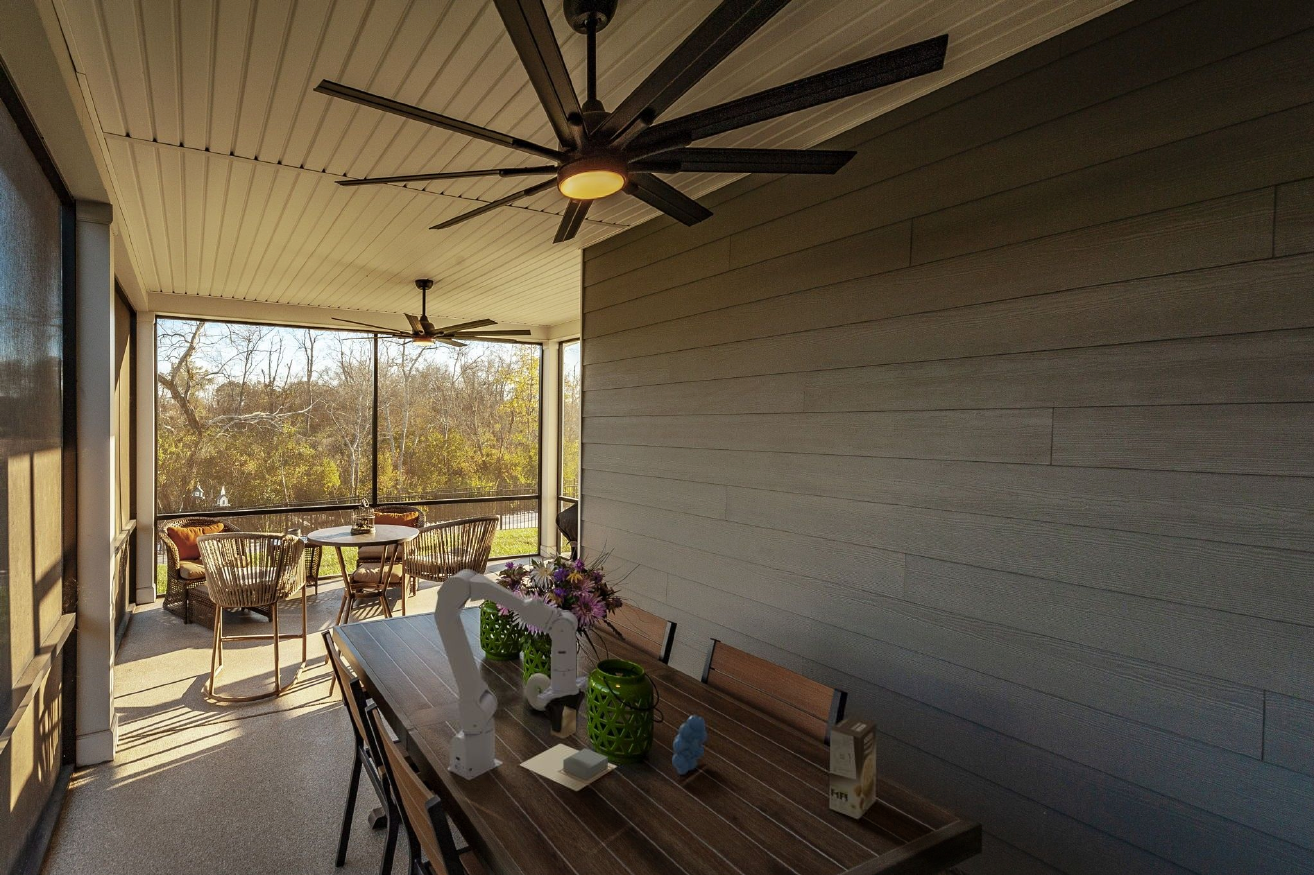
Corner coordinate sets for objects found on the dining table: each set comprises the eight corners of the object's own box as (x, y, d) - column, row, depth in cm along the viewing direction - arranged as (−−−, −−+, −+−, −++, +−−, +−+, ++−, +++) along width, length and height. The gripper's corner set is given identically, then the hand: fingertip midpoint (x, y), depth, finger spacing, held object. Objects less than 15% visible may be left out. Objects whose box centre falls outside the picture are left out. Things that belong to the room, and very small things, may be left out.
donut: (522, 707, 176) (523, 671, 177) (531, 703, 179) (532, 668, 179) (548, 716, 171) (548, 679, 171) (557, 712, 173) (558, 675, 174)
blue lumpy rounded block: (689, 755, 150) (690, 704, 150) (713, 764, 146) (713, 711, 146) (658, 774, 141) (659, 720, 141) (682, 785, 137) (683, 729, 137)
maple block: (563, 738, 141) (563, 716, 141) (550, 733, 143) (550, 711, 143) (575, 732, 144) (576, 710, 144) (563, 727, 147) (563, 705, 147)
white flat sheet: (576, 794, 133) (576, 790, 133) (519, 767, 144) (519, 764, 144) (617, 769, 143) (617, 765, 143) (560, 746, 154) (560, 743, 154)
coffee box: (859, 821, 124) (859, 738, 124) (828, 809, 128) (829, 729, 129) (876, 801, 131) (876, 723, 132) (846, 790, 135) (847, 714, 136)
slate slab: (586, 781, 137) (586, 769, 137) (563, 771, 141) (563, 760, 141) (607, 768, 142) (607, 757, 142) (584, 759, 146) (585, 748, 147)
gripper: (553, 680, 136) (552, 744, 136) (598, 662, 147) (598, 721, 147) (530, 673, 140) (530, 735, 140) (576, 656, 152) (576, 713, 151)
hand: (563, 727), depth 144 cm, fingers closed on maple block, 4 cm apart
